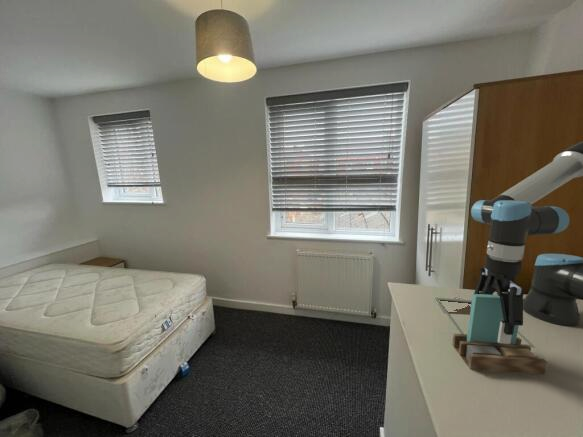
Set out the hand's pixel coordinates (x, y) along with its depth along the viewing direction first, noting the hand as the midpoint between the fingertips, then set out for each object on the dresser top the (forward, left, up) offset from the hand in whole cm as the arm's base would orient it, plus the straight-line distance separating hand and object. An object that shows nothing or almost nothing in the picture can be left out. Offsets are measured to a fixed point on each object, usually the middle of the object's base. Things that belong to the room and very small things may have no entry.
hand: (492, 331), depth 71 cm
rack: (0, +3, -8) cm, 8 cm away
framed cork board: (-7, -19, -9) cm, 22 cm away
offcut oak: (-4, +4, -7) cm, 9 cm away
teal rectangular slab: (0, 0, -7) cm, 7 cm away
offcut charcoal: (+4, +4, -7) cm, 9 cm away
